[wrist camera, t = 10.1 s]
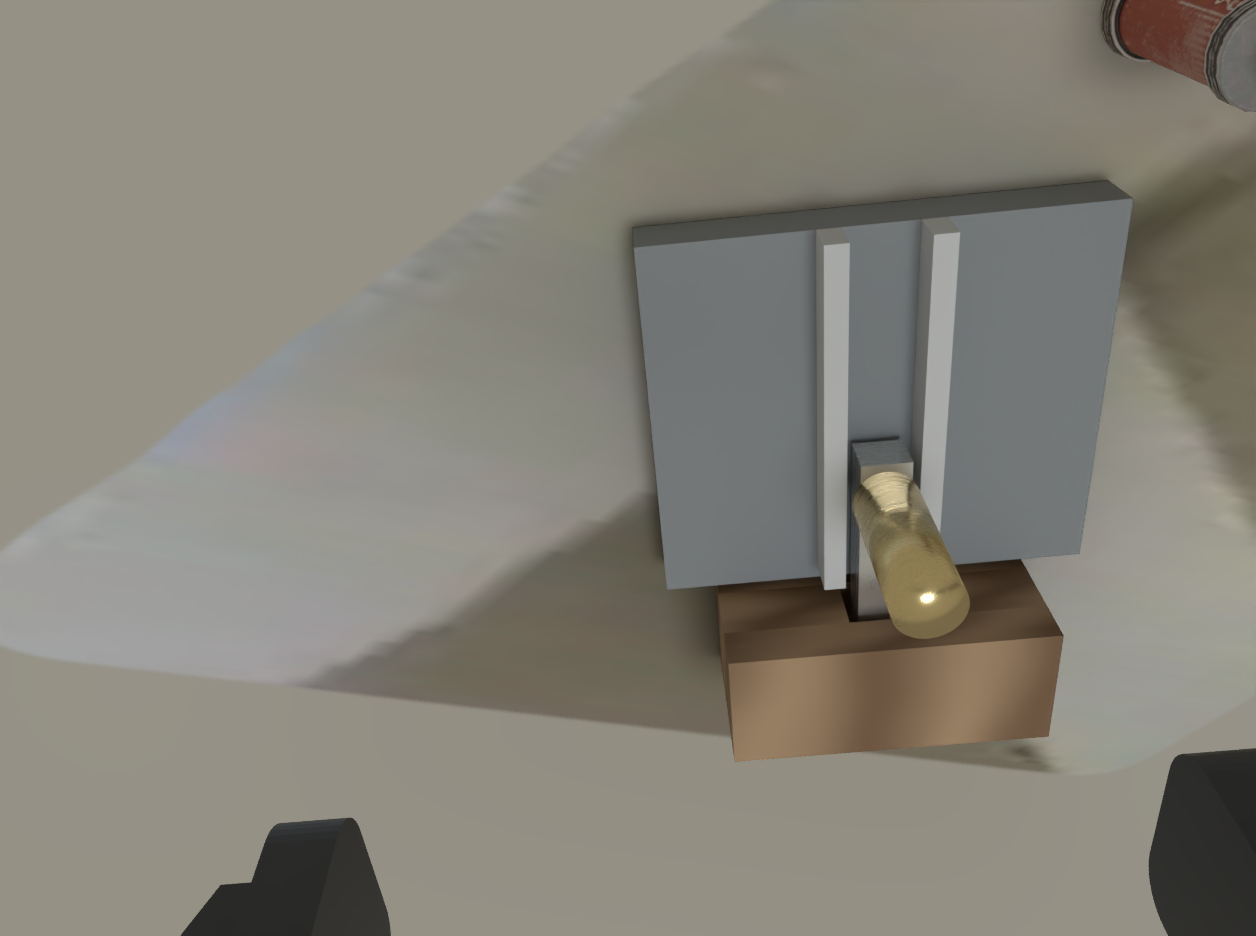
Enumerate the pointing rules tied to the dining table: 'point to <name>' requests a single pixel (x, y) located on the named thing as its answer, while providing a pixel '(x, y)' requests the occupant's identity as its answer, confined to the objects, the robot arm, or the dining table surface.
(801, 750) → the jamb keeper
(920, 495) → the bolt
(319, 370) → the dining table surface
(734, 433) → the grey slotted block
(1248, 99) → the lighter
